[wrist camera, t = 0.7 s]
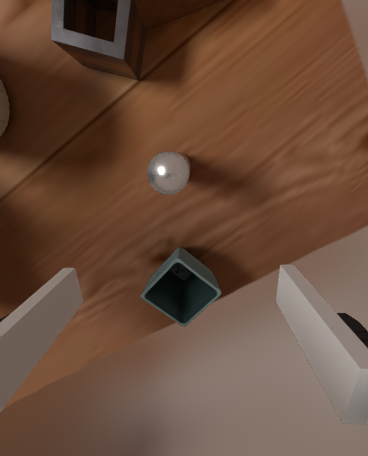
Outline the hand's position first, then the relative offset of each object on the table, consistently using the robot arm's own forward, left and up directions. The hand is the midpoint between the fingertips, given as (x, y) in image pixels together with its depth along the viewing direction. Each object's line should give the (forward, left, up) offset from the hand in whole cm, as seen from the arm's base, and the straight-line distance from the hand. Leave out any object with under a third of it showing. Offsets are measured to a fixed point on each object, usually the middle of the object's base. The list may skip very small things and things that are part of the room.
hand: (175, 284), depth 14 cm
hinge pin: (-3, +6, -23) cm, 24 cm away
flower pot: (+2, -11, -23) cm, 26 cm away
